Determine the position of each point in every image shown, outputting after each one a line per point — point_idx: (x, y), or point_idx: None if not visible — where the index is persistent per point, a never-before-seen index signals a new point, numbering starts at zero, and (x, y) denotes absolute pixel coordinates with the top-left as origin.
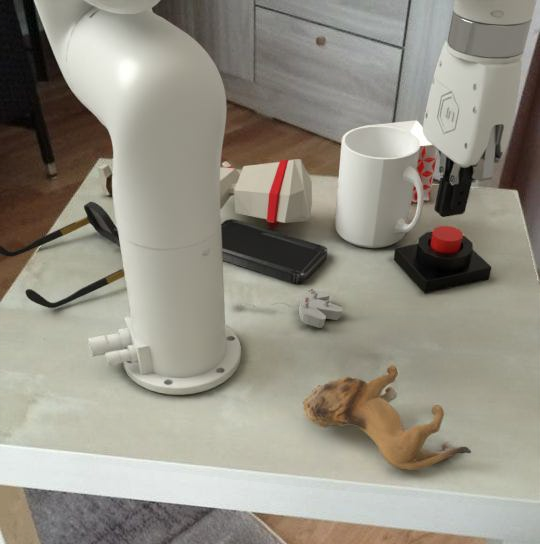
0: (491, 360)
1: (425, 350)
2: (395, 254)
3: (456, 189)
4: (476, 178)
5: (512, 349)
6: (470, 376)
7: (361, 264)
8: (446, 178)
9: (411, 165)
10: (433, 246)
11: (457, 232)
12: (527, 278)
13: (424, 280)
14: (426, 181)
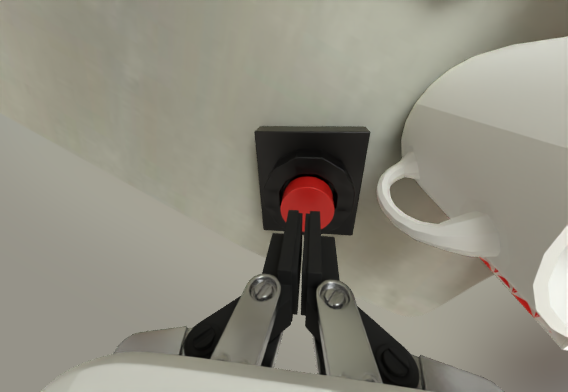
0: (109, 134)
1: (122, 52)
2: (363, 129)
3: (263, 273)
4: (158, 333)
5: (131, 168)
6: (72, 89)
7: (383, 58)
8: (309, 283)
9: (500, 258)
10: (305, 178)
11: (302, 225)
12: (258, 252)
13: (260, 130)
14: None
